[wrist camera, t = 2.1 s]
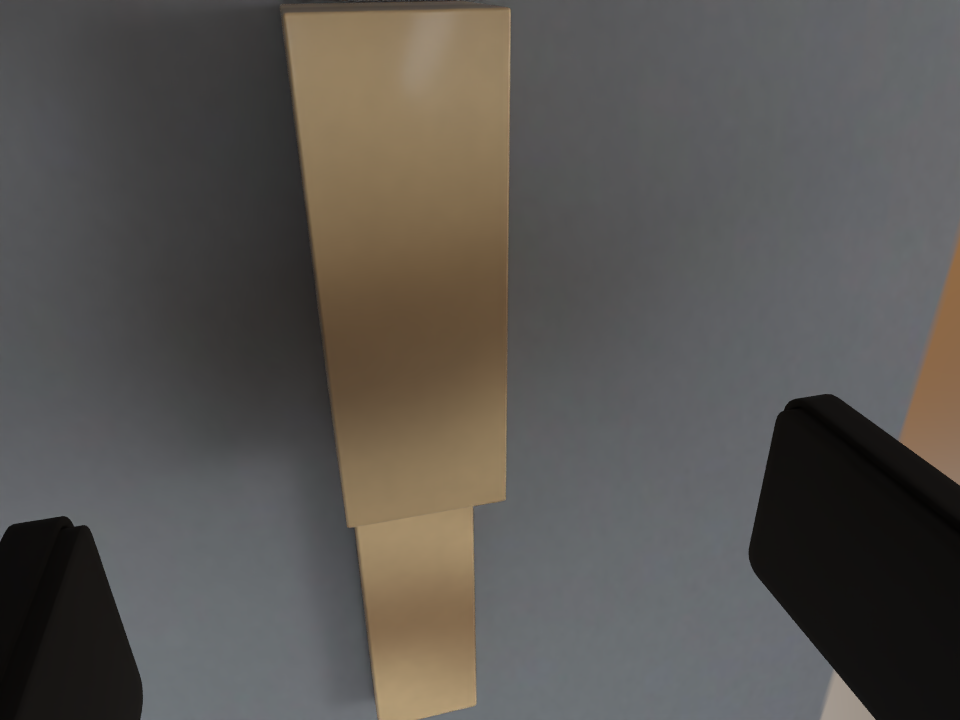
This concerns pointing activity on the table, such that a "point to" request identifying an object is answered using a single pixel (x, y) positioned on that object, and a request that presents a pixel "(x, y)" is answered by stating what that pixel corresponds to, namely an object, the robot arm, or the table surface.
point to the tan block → (410, 309)
